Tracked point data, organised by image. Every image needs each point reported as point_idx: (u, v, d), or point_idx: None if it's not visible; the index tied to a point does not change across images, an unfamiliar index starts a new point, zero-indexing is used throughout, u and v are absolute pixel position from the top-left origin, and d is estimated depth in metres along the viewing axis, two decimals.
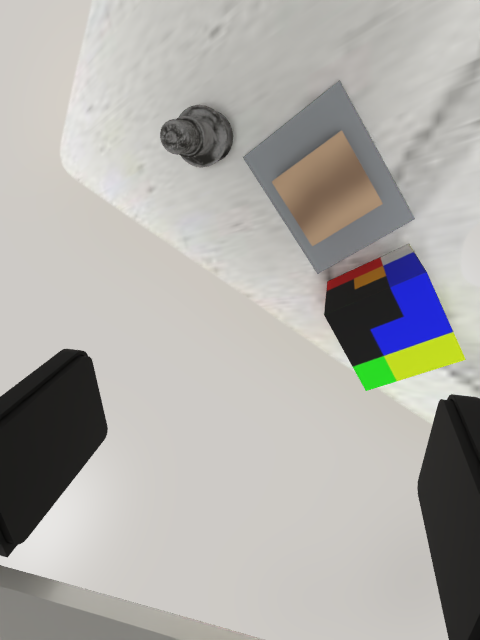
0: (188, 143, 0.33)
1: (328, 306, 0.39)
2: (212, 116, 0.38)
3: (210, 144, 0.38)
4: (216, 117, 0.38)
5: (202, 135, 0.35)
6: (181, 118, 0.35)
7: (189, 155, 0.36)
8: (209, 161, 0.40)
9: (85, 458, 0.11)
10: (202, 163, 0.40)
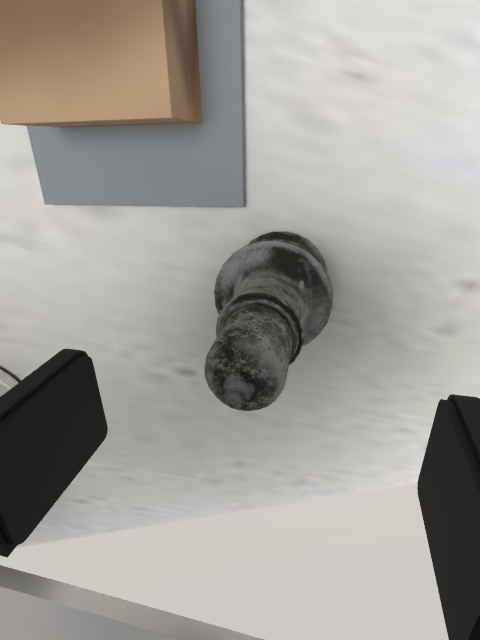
0: (221, 343, 0.12)
1: None
2: None
3: (251, 278, 0.17)
4: (220, 303, 0.19)
5: (223, 314, 0.15)
6: None
7: (278, 304, 0.14)
8: (284, 251, 0.17)
9: (85, 458, 0.11)
10: (300, 258, 0.17)
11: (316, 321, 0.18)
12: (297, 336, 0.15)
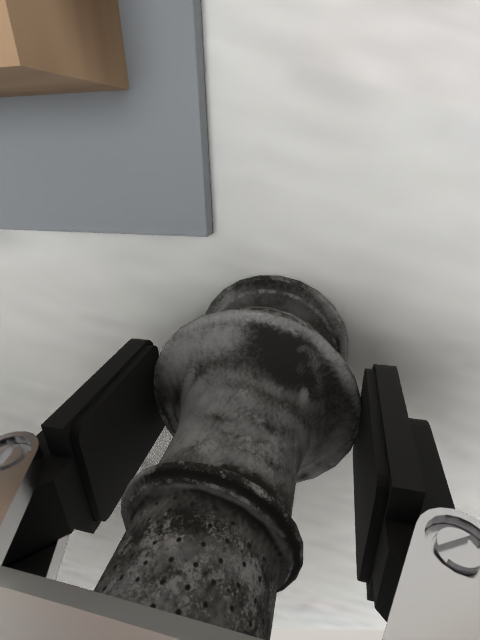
0: None
1: None
2: (172, 418, 0.11)
3: (207, 383, 0.09)
4: (164, 407, 0.11)
5: (130, 496, 0.07)
6: None
7: (245, 497, 0.06)
8: (271, 332, 0.09)
9: (150, 443, 0.11)
10: (303, 346, 0.09)
11: (330, 450, 0.10)
12: (290, 557, 0.06)
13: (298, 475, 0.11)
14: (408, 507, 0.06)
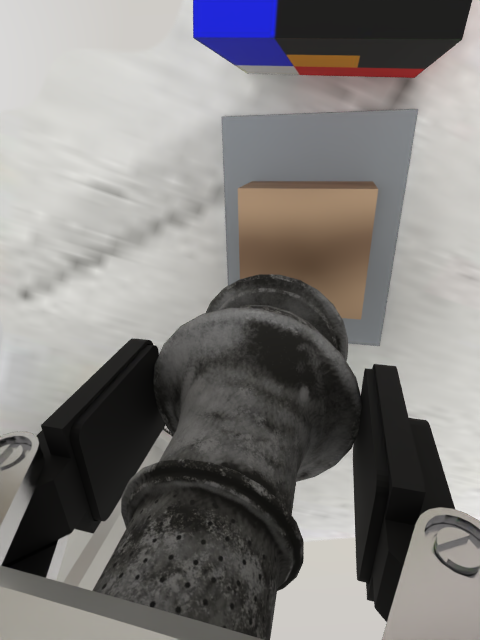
0: None
1: (438, 49, 0.15)
2: (172, 417, 0.11)
3: (207, 381, 0.09)
4: (164, 405, 0.11)
5: (129, 494, 0.07)
6: None
7: (245, 495, 0.06)
8: (271, 330, 0.09)
9: (151, 443, 0.11)
10: (303, 344, 0.09)
11: (331, 448, 0.10)
12: (290, 555, 0.06)
13: (298, 474, 0.11)
14: (408, 507, 0.06)
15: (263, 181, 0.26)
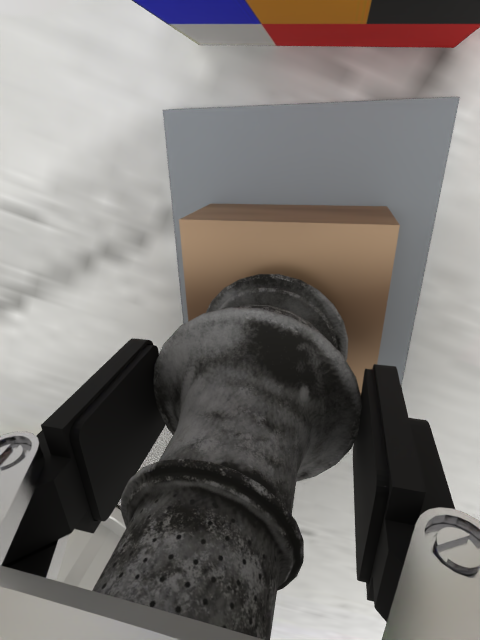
0: None
1: None
2: (172, 417, 0.11)
3: (207, 381, 0.09)
4: (164, 405, 0.11)
5: (130, 494, 0.07)
6: None
7: (245, 494, 0.06)
8: (271, 330, 0.09)
9: (151, 443, 0.11)
10: (303, 344, 0.09)
11: (330, 448, 0.10)
12: (290, 555, 0.06)
13: (298, 474, 0.11)
14: (408, 507, 0.06)
15: (226, 204, 0.18)
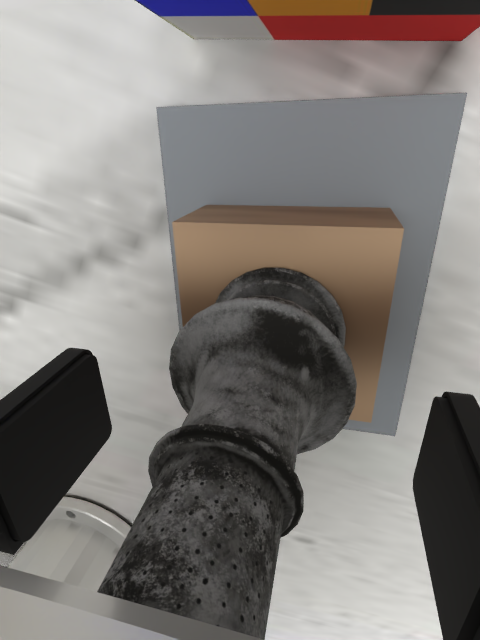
0: None
1: None
2: (186, 396, 0.12)
3: (219, 362, 0.10)
4: (179, 386, 0.12)
5: (157, 455, 0.08)
6: None
7: (255, 452, 0.07)
8: (276, 318, 0.10)
9: (90, 456, 0.11)
10: (304, 330, 0.10)
11: (328, 423, 0.11)
12: (292, 504, 0.08)
13: (299, 447, 0.12)
14: None
15: (223, 205, 0.17)
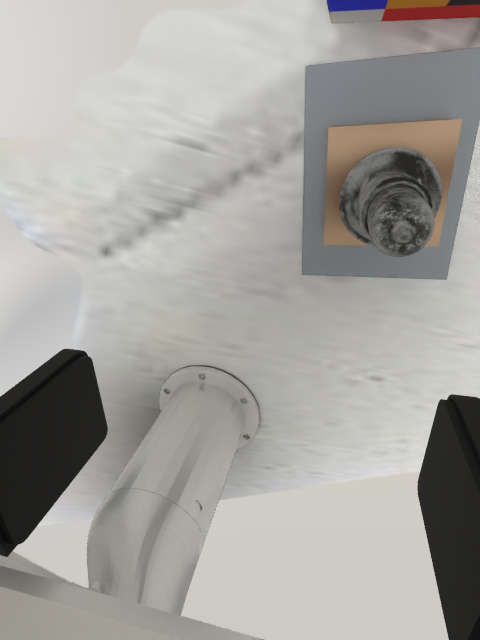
0: (388, 201, 0.17)
1: None
2: (348, 211, 0.23)
3: (378, 177, 0.21)
4: (344, 206, 0.23)
5: (368, 197, 0.19)
6: None
7: (415, 184, 0.18)
8: (405, 155, 0.21)
9: (85, 458, 0.11)
10: (418, 160, 0.21)
11: None
12: None
13: None
14: None
15: None
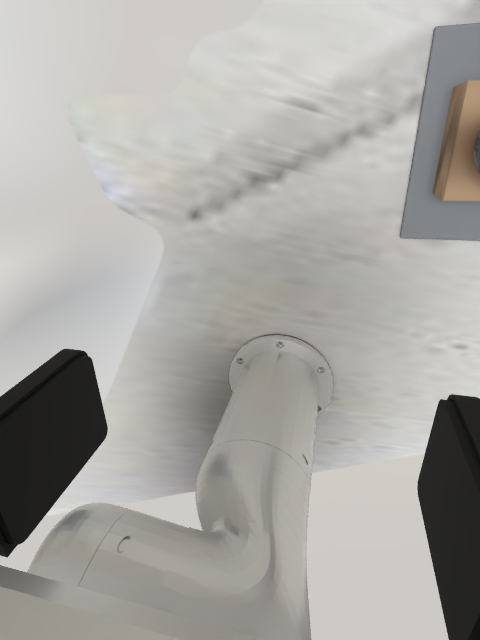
0: None
1: None
2: None
3: None
4: None
5: None
6: None
7: None
8: None
9: (85, 458, 0.11)
10: None
11: None
12: None
13: None
14: None
15: None
